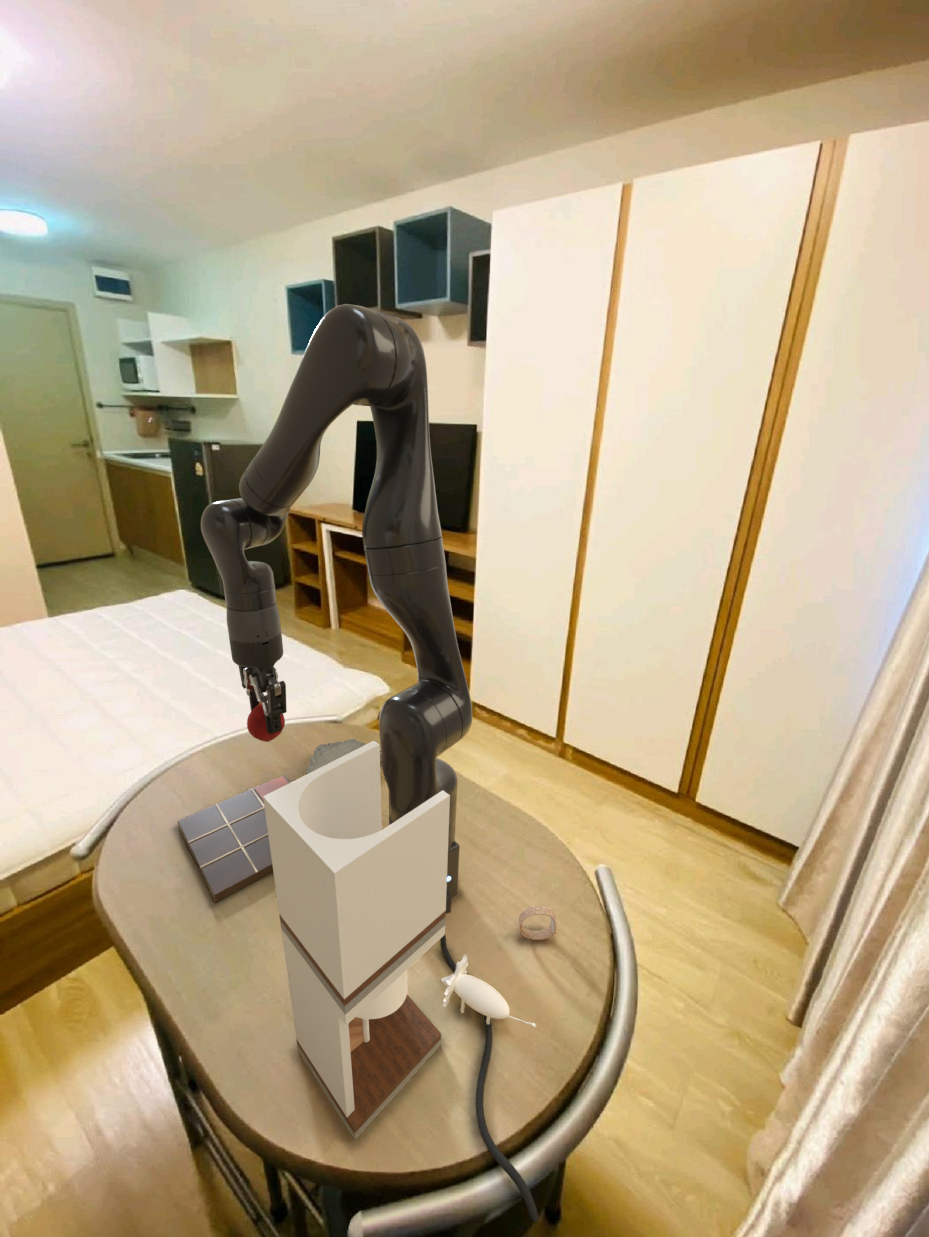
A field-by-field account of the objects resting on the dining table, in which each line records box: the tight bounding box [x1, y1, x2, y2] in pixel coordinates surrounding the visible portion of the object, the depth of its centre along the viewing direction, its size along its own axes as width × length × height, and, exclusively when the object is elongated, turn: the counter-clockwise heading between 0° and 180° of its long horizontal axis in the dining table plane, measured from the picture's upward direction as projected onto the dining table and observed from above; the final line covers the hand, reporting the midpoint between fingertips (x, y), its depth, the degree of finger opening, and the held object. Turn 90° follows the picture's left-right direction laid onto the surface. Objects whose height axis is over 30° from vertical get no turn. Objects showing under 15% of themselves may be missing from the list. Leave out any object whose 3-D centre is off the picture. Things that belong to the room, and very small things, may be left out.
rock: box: [305, 738, 382, 775], centre depth 99 cm, size 12×16×5 cm
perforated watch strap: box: [518, 905, 557, 941], centre depth 69 cm, size 3×5×5 cm, turn 91°
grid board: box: [176, 774, 291, 903], centre depth 84 cm, size 18×18×2 cm
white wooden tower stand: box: [263, 740, 450, 1141], centre depth 50 cm, size 11×11×35 cm
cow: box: [440, 953, 537, 1028], centre depth 60 cm, size 12×5×5 cm, turn 59°
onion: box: [246, 702, 286, 743], centre depth 86 cm, size 6×6×8 cm
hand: (266, 722), depth 86 cm, fingers closed on onion, 6 cm apart
